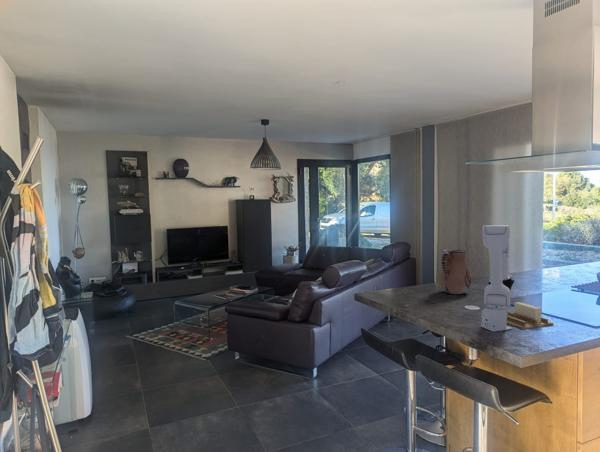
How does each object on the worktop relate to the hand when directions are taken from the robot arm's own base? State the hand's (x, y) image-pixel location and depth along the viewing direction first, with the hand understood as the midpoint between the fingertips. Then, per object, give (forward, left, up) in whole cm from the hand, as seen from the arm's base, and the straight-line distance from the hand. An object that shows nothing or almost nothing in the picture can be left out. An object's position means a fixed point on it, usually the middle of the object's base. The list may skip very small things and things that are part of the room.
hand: (501, 296), depth 195 cm
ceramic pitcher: (+9, +49, -10) cm, 51 cm away
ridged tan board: (+2, -10, -9) cm, 14 cm away
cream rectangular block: (+5, -10, -8) cm, 14 cm away
